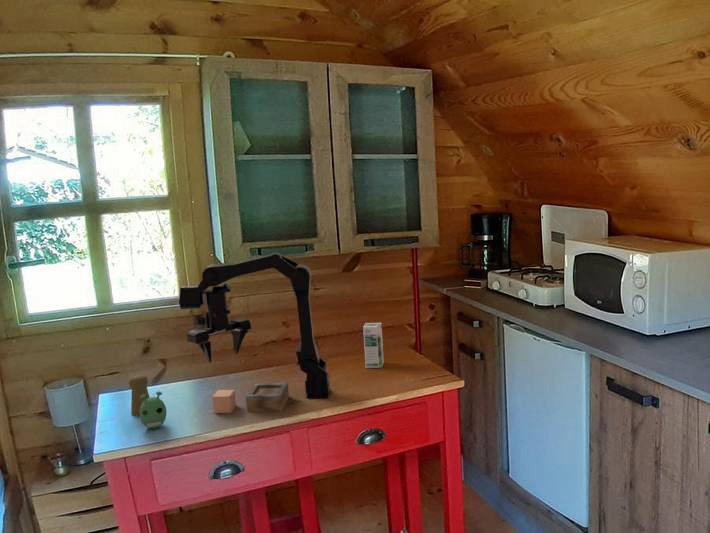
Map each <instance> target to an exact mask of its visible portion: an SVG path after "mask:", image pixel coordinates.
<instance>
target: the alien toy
mask: <svg viewBox="0 0 710 533" xmlns="http://www.w3.org/2000/svg"><path fill="white" fill-rule="evenodd" d="M155 394H156V395H157V397H156V396H150V398H148V399H145V397H146V395H145V394H143V395H141V397H140V398H141V399H144V402H143V403H142V405H141V407H140V416H139V418H140V422H141V423H142V425H143V426H145V427H146V428H147V429H148V428H149V429H157V428H160V427H161V426H162V425H163V424H164V423H165V421H166V418H167V413H168V412H167V407H166V404H165V403H164V401H163V399H160V396H162V395H163V393H162V392H161V391H156V393H155Z"/></svg>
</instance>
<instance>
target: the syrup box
mask: <svg viewBox="0 0 710 533" xmlns="http://www.w3.org/2000/svg"><path fill="white" fill-rule="evenodd" d="M362 330H363V333H362V334H363V344H364V345H363V346H364V360H365V361H364V362H365V365H364V367H365V368H366V369H382V368H383V366H384V363H385V361H384V360H385V359H384V346H383V345H384V344H383V328H382V322H365V324H364V325H363V328H362Z"/></svg>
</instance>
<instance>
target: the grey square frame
mask: <svg viewBox="0 0 710 533" xmlns="http://www.w3.org/2000/svg"><path fill="white" fill-rule="evenodd" d="M289 392H290V391H289V383H288V382H276V383H275V382H274V383H273V382H267V383H264V382H263V383H262V382H260V383H255V384H253V386H252V387H251V389H250V390H249V392H248V393H247V394H246V396H245V399H246V400H245V401H246V412H271V411H272V412H275V411H276V412H279V411H280V412H281V411H282V410H283V409H284V407H285V405H286V403H287V402H288V400H289V398H290V393H289Z"/></svg>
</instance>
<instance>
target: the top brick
mask: <svg viewBox="0 0 710 533" xmlns="http://www.w3.org/2000/svg"><path fill="white" fill-rule="evenodd" d="M212 405H213V407H212V408H213V414H214V413H215V414H222V413H224V414H227V413H230V414H231V413H232V412H233V410H234V409H235V408H236V407H237V401H236V391H235V389H218V390H217V391H216V392H215V393H214V394H213V395H212Z"/></svg>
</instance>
